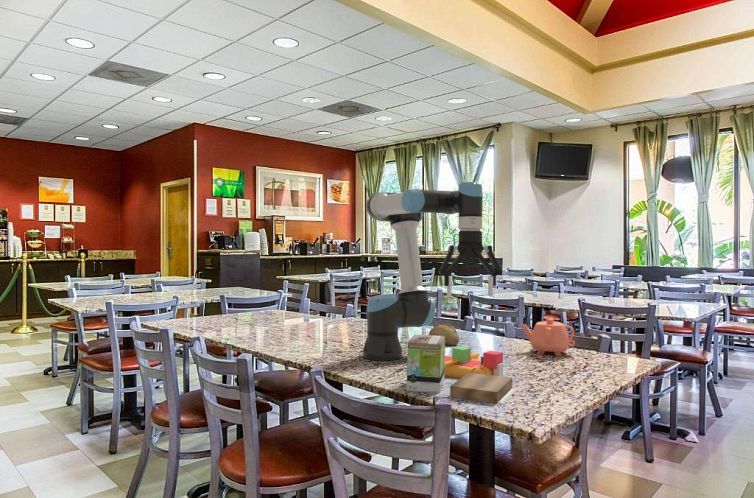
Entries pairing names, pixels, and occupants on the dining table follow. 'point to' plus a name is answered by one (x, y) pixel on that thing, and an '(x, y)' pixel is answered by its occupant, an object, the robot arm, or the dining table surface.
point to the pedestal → (481, 387)
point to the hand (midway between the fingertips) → (470, 296)
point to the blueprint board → (502, 401)
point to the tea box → (426, 363)
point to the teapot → (549, 337)
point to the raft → (473, 363)
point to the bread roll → (446, 334)
